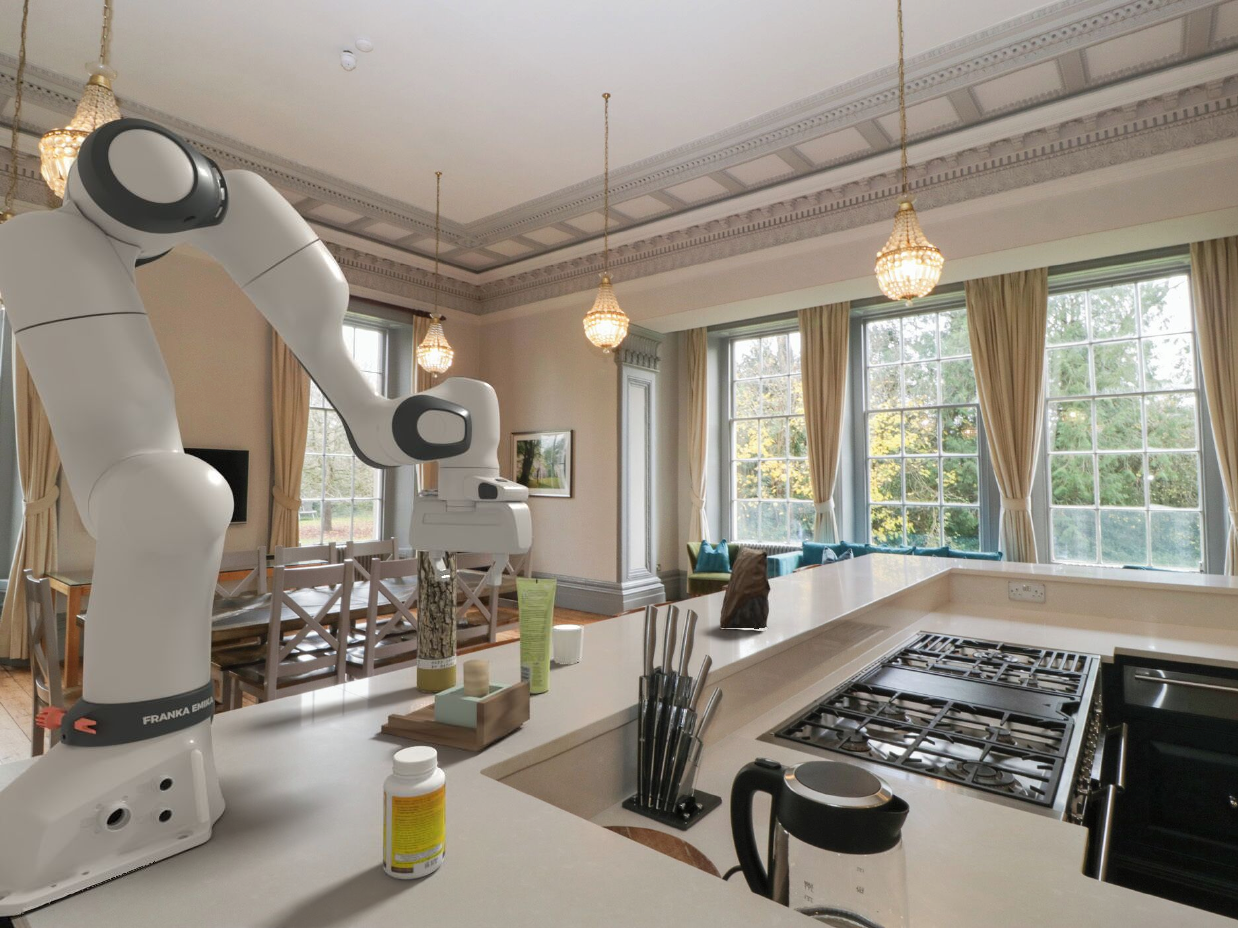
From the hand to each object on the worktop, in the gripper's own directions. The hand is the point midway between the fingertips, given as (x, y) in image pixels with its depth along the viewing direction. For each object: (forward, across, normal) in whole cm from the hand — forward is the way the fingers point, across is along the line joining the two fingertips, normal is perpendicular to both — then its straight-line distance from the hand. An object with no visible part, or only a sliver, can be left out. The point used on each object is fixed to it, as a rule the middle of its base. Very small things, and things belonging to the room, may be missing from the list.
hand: (467, 583), depth 97 cm
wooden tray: (+21, -3, 0) cm, 22 cm away
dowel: (+20, +2, 0) cm, 20 cm away
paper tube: (+22, -19, +15) cm, 32 cm away
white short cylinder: (+21, -7, +41) cm, 47 cm away
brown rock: (+20, +17, +90) cm, 93 cm away
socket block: (+20, +2, 0) cm, 20 cm away
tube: (+21, -2, +22) cm, 30 cm away
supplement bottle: (+22, +18, -29) cm, 41 cm away
